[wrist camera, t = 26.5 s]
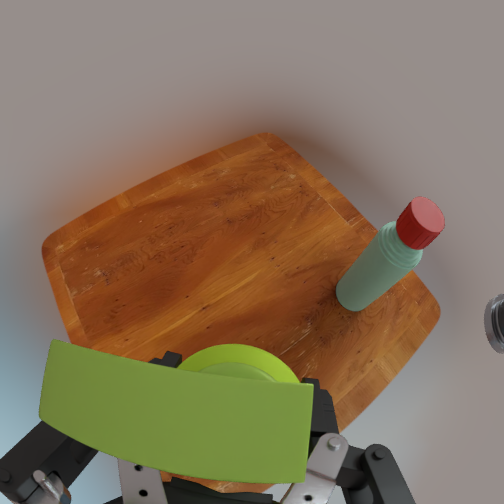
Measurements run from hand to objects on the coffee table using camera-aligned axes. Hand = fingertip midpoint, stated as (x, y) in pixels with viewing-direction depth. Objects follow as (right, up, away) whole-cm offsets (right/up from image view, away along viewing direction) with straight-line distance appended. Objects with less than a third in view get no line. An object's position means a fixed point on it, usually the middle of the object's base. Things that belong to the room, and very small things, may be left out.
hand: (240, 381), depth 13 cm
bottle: (+15, 0, +27) cm, 31 cm away
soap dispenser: (-1, -7, +8) cm, 11 cm away
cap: (+16, +8, +12) cm, 22 cm away
